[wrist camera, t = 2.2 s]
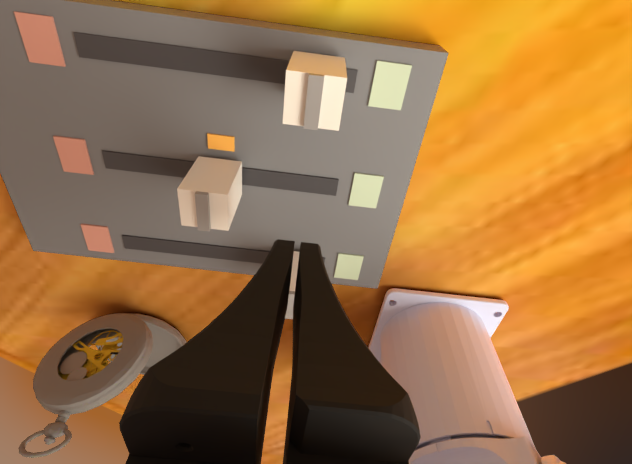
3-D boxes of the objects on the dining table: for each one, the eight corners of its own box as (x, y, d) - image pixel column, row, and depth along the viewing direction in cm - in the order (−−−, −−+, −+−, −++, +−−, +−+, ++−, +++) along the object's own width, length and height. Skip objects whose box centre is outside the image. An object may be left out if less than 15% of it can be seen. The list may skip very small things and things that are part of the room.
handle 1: (311, 277, 22) (308, 321, 19) (277, 273, 22) (269, 316, 19) (315, 253, 21) (312, 296, 18) (278, 249, 21) (271, 291, 18)
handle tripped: (241, 194, 19) (227, 233, 16) (201, 189, 18) (180, 228, 16) (241, 161, 18) (226, 197, 15) (198, 156, 17) (175, 191, 15)
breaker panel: (375, 271, 24) (377, 289, 22) (49, 234, 23) (32, 251, 22) (439, 45, 16) (448, 53, 15) (-49, -22, 15) (-85, -20, 14)
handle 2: (338, 103, 16) (338, 133, 13) (290, 97, 16) (281, 126, 13) (345, 57, 15) (347, 79, 12) (293, 50, 15) (285, 71, 12)
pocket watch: (158, 374, 31) (98, 519, 23) (62, 322, 28) (-49, 472, 20) (221, 333, 28) (177, 488, 20) (121, 268, 24) (16, 424, 16)
